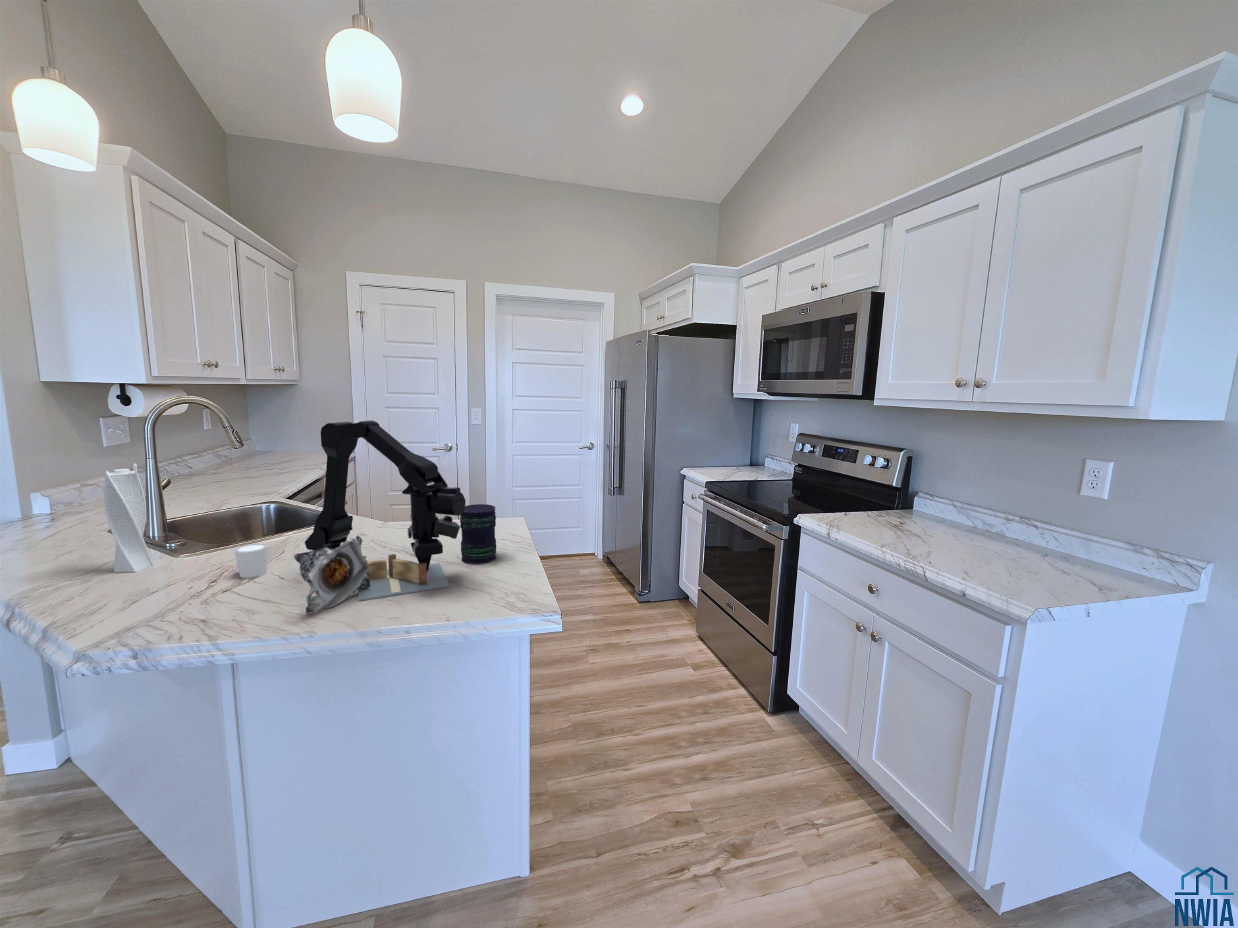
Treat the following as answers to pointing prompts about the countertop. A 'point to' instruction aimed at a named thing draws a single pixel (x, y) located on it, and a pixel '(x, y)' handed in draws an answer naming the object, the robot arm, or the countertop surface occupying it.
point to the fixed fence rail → (377, 569)
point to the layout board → (403, 585)
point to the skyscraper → (127, 519)
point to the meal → (333, 573)
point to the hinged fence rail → (407, 570)
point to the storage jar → (478, 534)
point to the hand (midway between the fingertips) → (425, 571)
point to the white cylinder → (251, 560)
